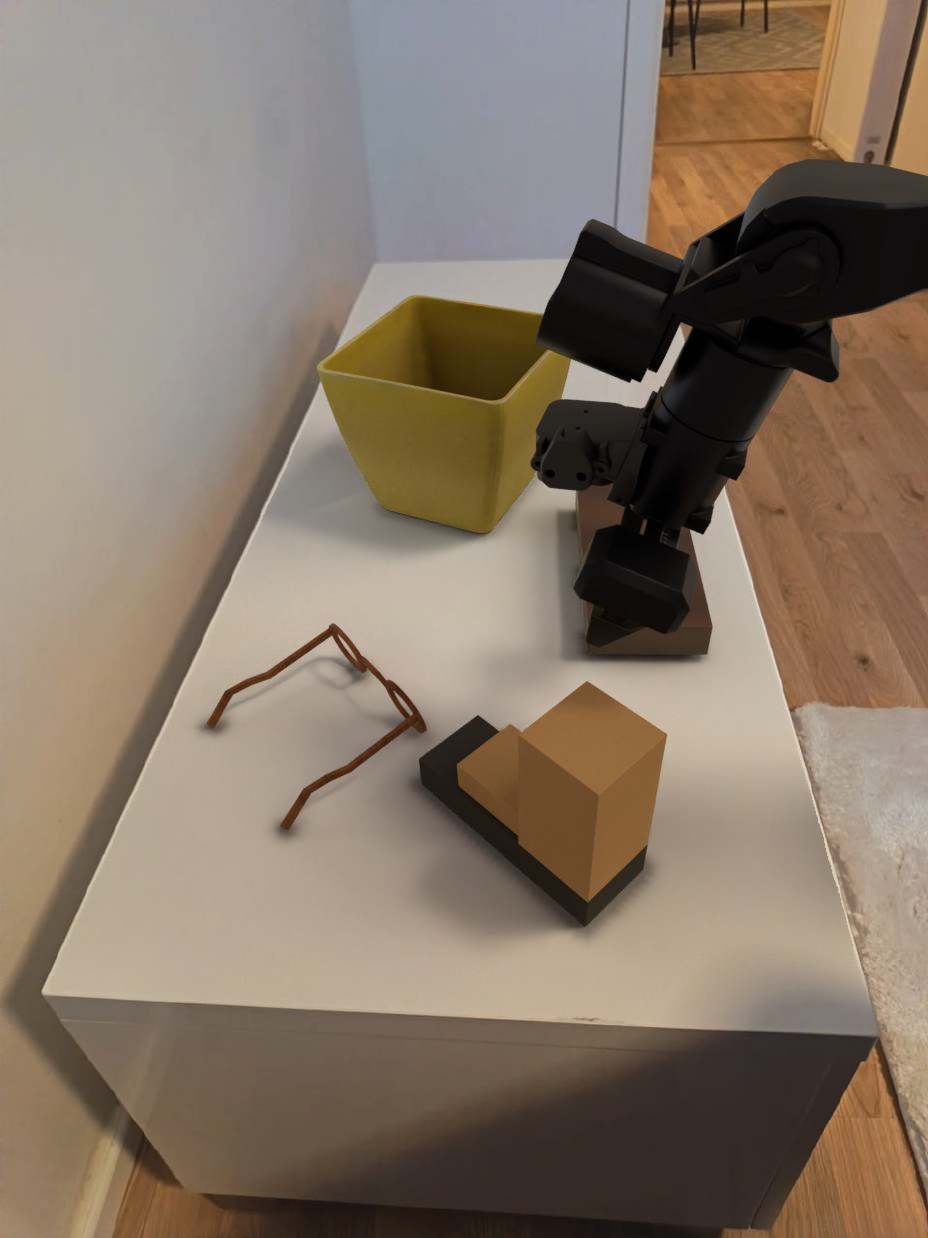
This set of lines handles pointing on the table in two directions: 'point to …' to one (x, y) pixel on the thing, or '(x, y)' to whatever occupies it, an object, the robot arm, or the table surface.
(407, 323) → the flower pot
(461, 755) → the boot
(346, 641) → the glasses
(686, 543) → the brown wooden slab
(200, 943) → the table surface
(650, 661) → the table surface
